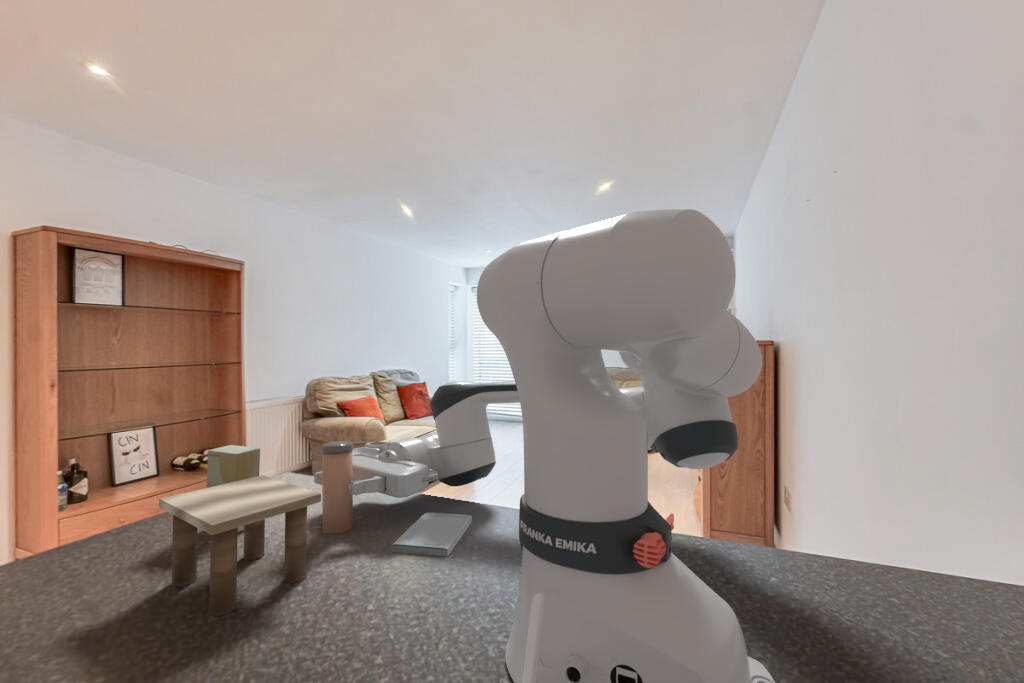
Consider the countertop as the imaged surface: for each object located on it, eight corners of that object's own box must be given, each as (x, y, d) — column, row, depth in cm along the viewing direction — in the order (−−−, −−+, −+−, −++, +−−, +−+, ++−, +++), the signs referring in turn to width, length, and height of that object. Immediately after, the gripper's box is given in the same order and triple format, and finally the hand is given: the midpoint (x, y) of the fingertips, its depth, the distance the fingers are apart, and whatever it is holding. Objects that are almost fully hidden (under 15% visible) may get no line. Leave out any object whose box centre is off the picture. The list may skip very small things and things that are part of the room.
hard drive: (448, 548, 60) (472, 514, 72) (390, 543, 61) (424, 510, 74) (448, 560, 60) (472, 524, 72) (390, 555, 61) (424, 521, 74)
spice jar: (359, 526, 70) (359, 443, 70) (333, 536, 66) (333, 448, 66) (341, 520, 72) (341, 439, 72) (315, 529, 68) (315, 445, 69)
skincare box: (203, 529, 68) (204, 449, 69) (228, 519, 73) (230, 444, 73) (235, 535, 66) (237, 452, 67) (260, 524, 71) (261, 446, 71)
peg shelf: (320, 575, 55) (321, 493, 55) (210, 625, 45) (212, 525, 45) (261, 546, 62) (262, 475, 63) (157, 583, 53) (159, 498, 53)
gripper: (444, 493, 74) (377, 519, 63) (365, 473, 86) (296, 492, 74) (445, 455, 74) (377, 474, 63) (366, 440, 86) (297, 454, 74)
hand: (333, 484), depth 68 cm, fingers open, 7 cm apart
